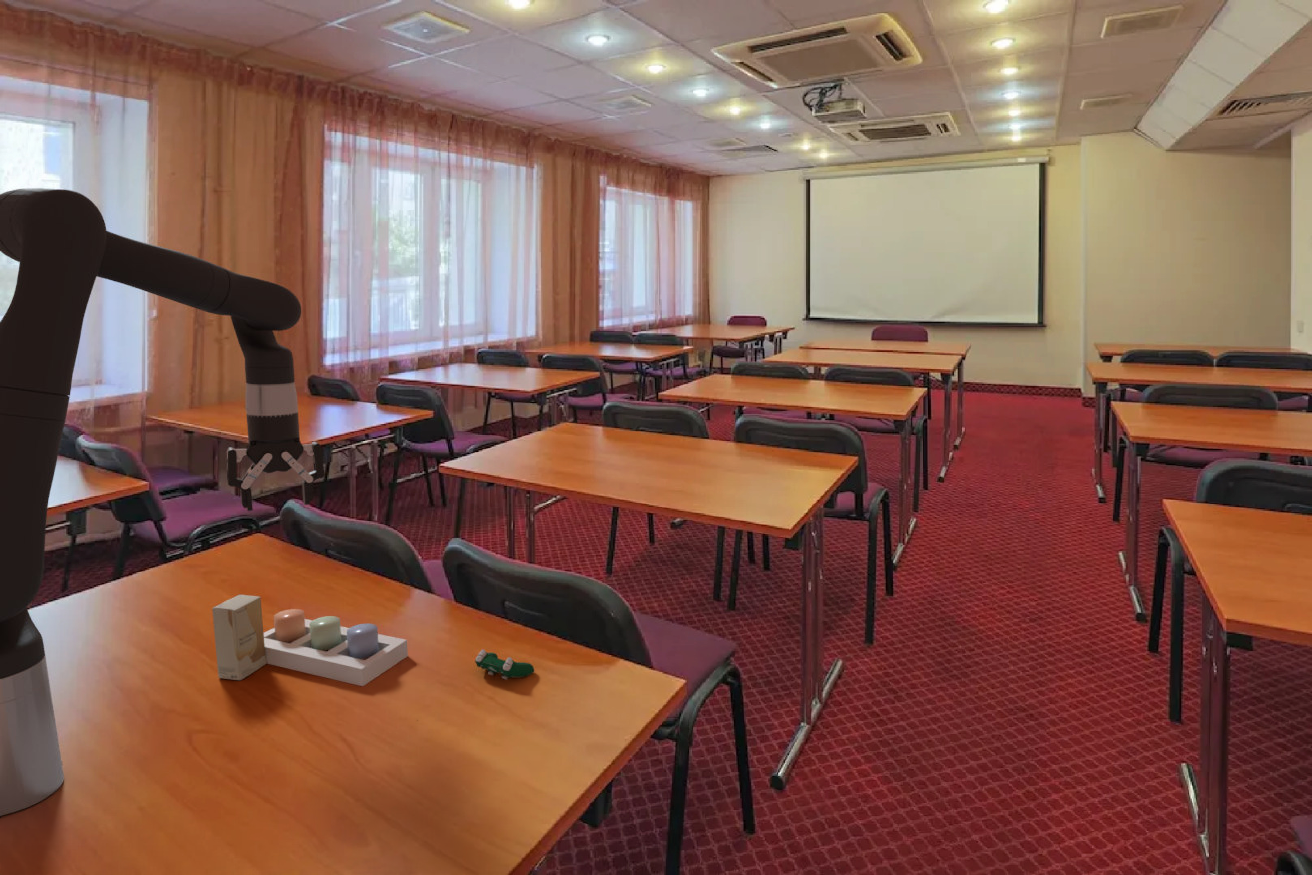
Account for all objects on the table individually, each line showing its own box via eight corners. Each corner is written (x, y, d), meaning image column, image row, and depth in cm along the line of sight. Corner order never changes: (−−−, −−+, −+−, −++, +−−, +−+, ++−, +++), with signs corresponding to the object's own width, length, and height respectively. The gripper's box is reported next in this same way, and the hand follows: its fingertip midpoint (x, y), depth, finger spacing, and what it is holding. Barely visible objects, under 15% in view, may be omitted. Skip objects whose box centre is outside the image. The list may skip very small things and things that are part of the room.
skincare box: (240, 681, 121) (233, 610, 118) (217, 678, 122) (209, 608, 119) (268, 663, 127) (262, 595, 125) (246, 660, 128) (239, 592, 125)
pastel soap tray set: (362, 686, 120) (361, 668, 119) (246, 658, 128) (244, 642, 128) (407, 655, 130) (406, 639, 129) (297, 632, 138) (295, 616, 138)
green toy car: (484, 675, 127) (466, 663, 123) (494, 654, 129) (476, 641, 125) (527, 689, 123) (510, 677, 119) (537, 667, 125) (520, 654, 120)
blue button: (365, 660, 123) (363, 638, 122) (341, 655, 125) (340, 633, 124) (385, 648, 127) (383, 626, 127) (362, 643, 129) (361, 621, 128)
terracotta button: (290, 644, 128) (288, 622, 128) (269, 639, 130) (267, 617, 129) (312, 632, 133) (310, 611, 132) (291, 628, 134) (289, 607, 134)
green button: (326, 652, 126) (325, 630, 125) (304, 647, 127) (302, 625, 126) (347, 640, 130) (346, 618, 129) (326, 635, 132) (324, 614, 131)
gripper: (223, 416, 115) (231, 518, 117) (323, 411, 122) (328, 506, 125) (220, 410, 121) (228, 507, 124) (315, 405, 129) (320, 496, 131)
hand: (278, 506), depth 124 cm, fingers open, 8 cm apart
